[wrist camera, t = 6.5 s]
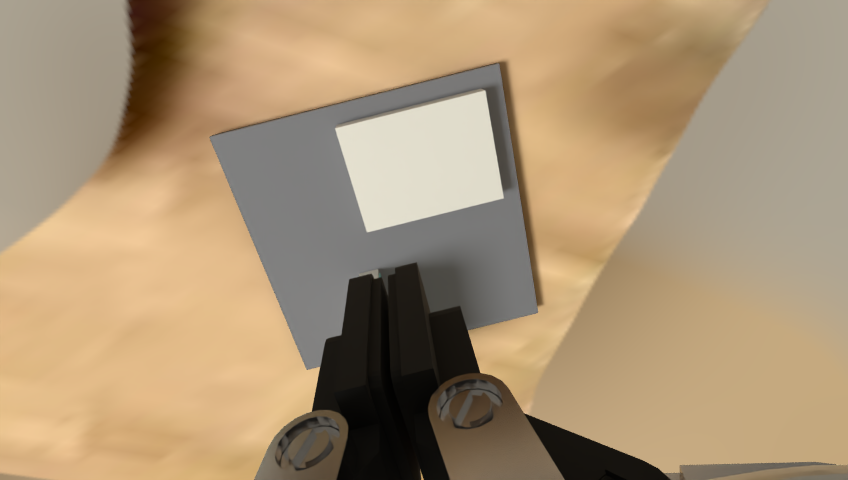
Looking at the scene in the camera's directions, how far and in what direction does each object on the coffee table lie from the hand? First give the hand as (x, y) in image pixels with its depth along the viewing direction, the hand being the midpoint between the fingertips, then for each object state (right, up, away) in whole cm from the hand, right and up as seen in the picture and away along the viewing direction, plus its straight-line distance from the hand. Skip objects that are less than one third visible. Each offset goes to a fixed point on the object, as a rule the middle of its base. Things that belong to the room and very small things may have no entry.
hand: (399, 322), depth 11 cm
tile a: (-3, +5, +14) cm, 16 cm away
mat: (-1, +3, +17) cm, 17 cm away
